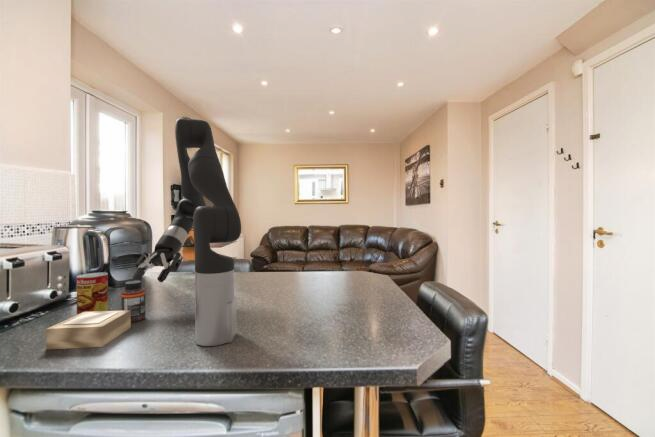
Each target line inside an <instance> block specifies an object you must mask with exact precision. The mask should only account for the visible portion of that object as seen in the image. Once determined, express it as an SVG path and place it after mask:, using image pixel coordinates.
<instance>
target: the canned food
mask: <svg viewBox="0 0 655 437" xmlns="http://www.w3.org/2000/svg"><path fill="white" fill-rule="evenodd" d="M94 311H109V274H108V272H90V273H83V274H79V275H76V315H78V314H80V313H82V312H94Z"/></svg>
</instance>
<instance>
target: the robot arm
mask: <svg viewBox="0 0 655 437" xmlns="http://www.w3.org/2000/svg"><path fill="white" fill-rule="evenodd" d="M174 136H175V144H176V153H177V157H178V158H177V159H178V164H179V169H180V170H179V171H180V178H181V179H180V180H181V184H180V185H181V195H182V197H183V199H182V198H181V199H180V201H178V203H177V205H176V210H175V213H174V214H175V215H174V217H173V219H172V220H171V223H170V225H168V227H167V228H166V229H165V230H164V232H163V233H162V235H161V237H160V238H159V239H158V241H157V242H156V244H155V245H154V250H153V252H151V253H148V252H147V251H143V253H142V254H141V256H139V258H138V260H137V261H136V262H135V264H134V265H133V266H134V267H135V268H136V269H137V270H136V272H134V275H133V276H132V279H133V281H141V279H142V278H143V276H144V274H145V272H147V270H150V269H153V268H154V267H163V269H162V270H161V271H160V273H159V275H158V276H157V281H158V282H159V283H163V282H164V281H166V279H167V278H168V276H169V274H170V273H172V272H177V271H178V269H179V267H180V265H181V263H182V261H183V259H184V256H183V255H182V254H181V253H180V252H181V249H182V247H183V245H184V244H185V242H186V239H187V238H188V236H189V235H190V231H191V230H192V229H193V230H192V231H193V243H194V322H195V325H194V326H195V328H194V329H195V330H194V331H195V333H194V335H195V336H194V337H195V343H196V345H199V346H202V347H215V346H220V345H223V344H227V343H232V342H233V341H234V338H235V336H236V335H237V332H238V331H237V330H238V329H237V328H238V327H237V325H238V324H237V296H235V260H234V258H233V257H231V256H228V255H225V254H222V253H218V252H216V251H214V250H213V249H212V248H211V245H210V244H218V243H219V244H224V243H232V242H236V241H237V240H239V238H240V236H241V234H242V222H241V218H240V213H239V211H238V209H237V206H236V204H235V202H234V200H233V197H232V195H231V194H230V190H229V187H228V184H227V181H226V179H225V174H224V170H223V167H222V164H221V162H220V159H219V157H218V153H217V150H216V147H215V141H214V140H215V139H214V135H213V132H212V127H211V125H210V124H209V122H208V121H206V120H204V119H203V120H202V119H195V118H193V119H192V118H178V119H176V120H175V124H174ZM187 148H189V149H190V148H191V149H198V150H197V151H195V153H193V155H192V156H191V157H190V156H189V153H188V149H187ZM204 198H206V200H208V201H209V202H210V203H211V204H213V206H212V205H207V204H206V200H205V199H204Z"/></svg>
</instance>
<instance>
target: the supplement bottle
mask: <svg viewBox="0 0 655 437" xmlns="http://www.w3.org/2000/svg"><path fill="white" fill-rule="evenodd" d="M124 285H125V286H124V289H123V290H122V291H121V296H120V297H121V298H120V299H121V311H122V310H131V323H135V322H140V321H141V320H144V319H145V318H146V290H145V288H144V287H142V281H141V280H140V281H135V280H130V281H129V280H128V281H126V282H125V284H124Z"/></svg>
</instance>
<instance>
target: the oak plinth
mask: <svg viewBox="0 0 655 437" xmlns="http://www.w3.org/2000/svg"><path fill="white" fill-rule="evenodd" d="M131 324H132V322H131V310H122V309H121V310H107V311H94V312H82V313H80V314H78V315H77V314H76V315H74V316H71V317H69V318H67V319H65V320H63V321H61V322H58V323H56V324H54V325H52V326H50V327H47V328H46V329H45V332H46V333H45V334H46V335H45V338H46V339H45V341H46V343H45V345H46V350H63V349H64V350H65V349H83V348H84V349H85V348H86V349H87V348H103V347H104V346H106V345H107V344H108V343H110V342H112V341H113V340H114V339H116V338H117V337H119V336H121V335H122V334H123V333H125V332H126V331H128V330H129V329H131V327H132V325H131Z"/></svg>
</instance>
